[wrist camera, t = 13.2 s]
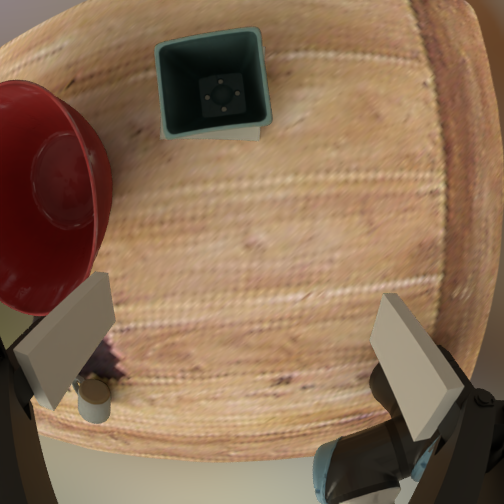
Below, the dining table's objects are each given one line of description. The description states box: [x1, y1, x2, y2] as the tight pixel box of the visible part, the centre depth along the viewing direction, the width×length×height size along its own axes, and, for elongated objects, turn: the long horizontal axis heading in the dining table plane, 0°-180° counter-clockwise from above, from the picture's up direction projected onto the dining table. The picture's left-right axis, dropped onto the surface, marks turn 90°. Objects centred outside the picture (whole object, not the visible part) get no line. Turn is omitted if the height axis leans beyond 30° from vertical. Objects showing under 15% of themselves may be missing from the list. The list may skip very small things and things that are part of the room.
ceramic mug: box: [72, 375, 111, 424], centre depth 51 cm, size 11×8×8 cm
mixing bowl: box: [0, 80, 113, 316], centre depth 31 cm, size 28×28×15 cm
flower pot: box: [154, 27, 273, 140], centre depth 25 cm, size 9×9×9 cm
